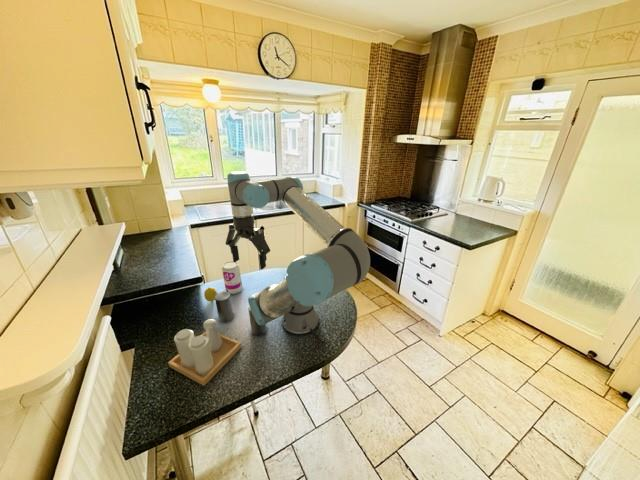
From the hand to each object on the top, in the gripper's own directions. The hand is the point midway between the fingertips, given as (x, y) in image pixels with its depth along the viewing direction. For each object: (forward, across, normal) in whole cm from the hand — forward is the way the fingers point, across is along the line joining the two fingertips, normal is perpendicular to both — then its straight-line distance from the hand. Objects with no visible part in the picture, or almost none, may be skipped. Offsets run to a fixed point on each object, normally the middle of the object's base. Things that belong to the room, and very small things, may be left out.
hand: (249, 264), depth 104 cm
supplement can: (+27, +23, -11) cm, 37 cm away
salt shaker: (+26, +2, +22) cm, 34 cm away
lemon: (+27, +26, +1) cm, 37 cm away
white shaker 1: (+26, +6, +30) cm, 40 cm away
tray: (+27, +2, +26) cm, 37 cm away
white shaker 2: (+26, -1, +30) cm, 40 cm away
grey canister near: (+27, -7, +7) cm, 28 cm away
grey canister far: (+27, +11, +7) cm, 30 cm away
